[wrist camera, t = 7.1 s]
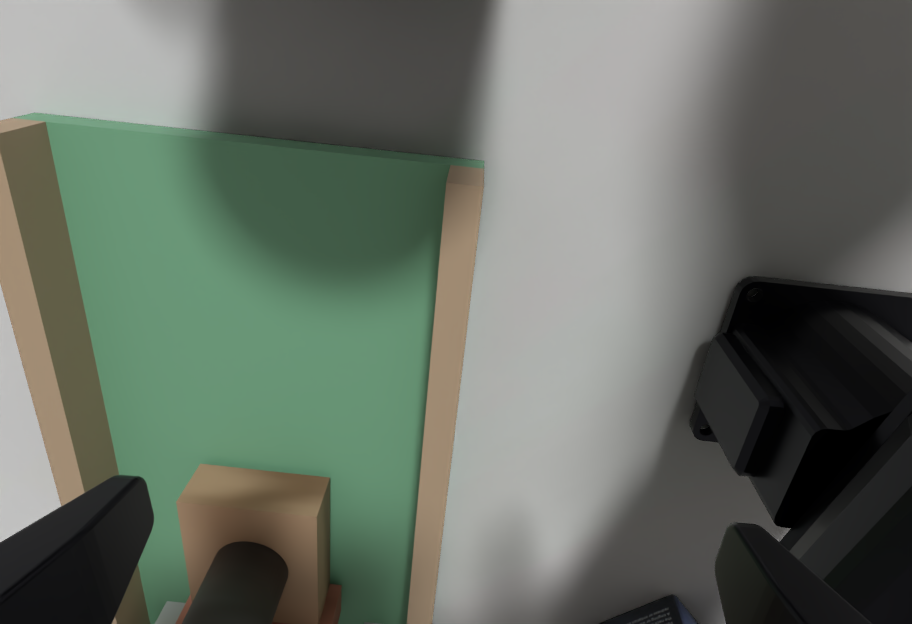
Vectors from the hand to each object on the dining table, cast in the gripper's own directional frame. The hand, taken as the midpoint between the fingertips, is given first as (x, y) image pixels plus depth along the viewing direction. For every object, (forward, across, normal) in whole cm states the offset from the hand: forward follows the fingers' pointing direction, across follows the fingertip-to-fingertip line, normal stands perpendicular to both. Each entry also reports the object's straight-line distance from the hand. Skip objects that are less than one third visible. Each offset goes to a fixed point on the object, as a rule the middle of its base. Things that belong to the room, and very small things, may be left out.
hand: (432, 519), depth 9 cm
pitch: (+12, +7, +10) cm, 17 cm away
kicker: (+11, +7, +13) cm, 18 cm away
